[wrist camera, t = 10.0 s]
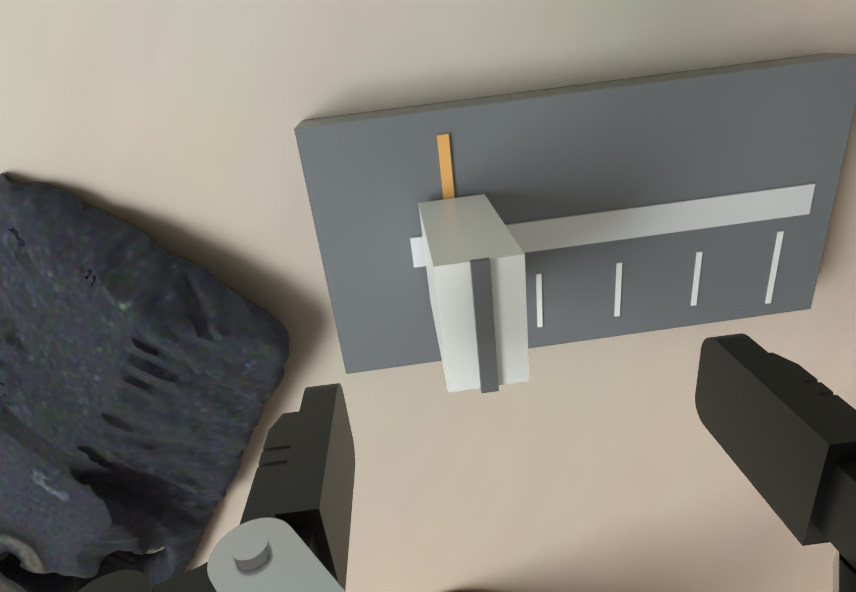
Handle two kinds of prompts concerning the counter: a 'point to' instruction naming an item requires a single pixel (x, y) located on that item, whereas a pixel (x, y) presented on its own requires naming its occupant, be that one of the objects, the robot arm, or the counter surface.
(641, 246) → the console
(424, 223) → the fader tab
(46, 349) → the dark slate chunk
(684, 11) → the counter surface
